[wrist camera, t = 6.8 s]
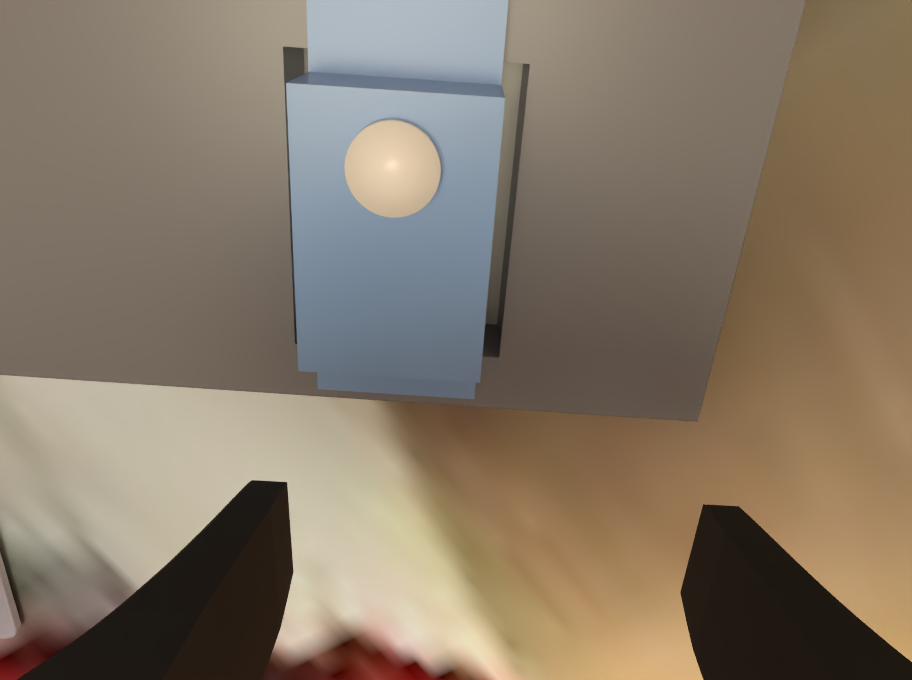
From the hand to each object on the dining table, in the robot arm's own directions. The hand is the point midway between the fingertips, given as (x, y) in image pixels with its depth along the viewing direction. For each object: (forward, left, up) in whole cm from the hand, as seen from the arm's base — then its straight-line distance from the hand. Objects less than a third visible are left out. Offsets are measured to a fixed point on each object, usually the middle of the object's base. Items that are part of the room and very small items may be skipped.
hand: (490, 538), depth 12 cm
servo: (-2, +4, -8) cm, 9 cm away
